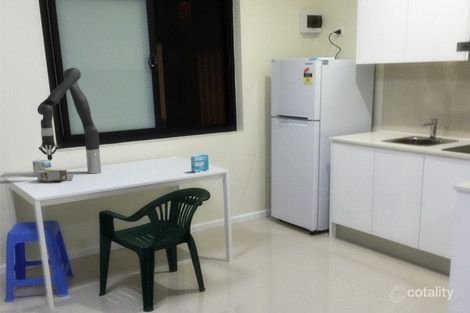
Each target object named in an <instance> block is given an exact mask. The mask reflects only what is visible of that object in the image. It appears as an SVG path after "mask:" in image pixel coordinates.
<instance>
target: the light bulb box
mask: <svg viewBox="0 0 470 313" xmlns="http://www.w3.org/2000/svg"><path fill="white" fill-rule="evenodd" d="M32 170H33V171H32V172H33V176H34V177H37V172H39V171H42V170H53V168H52V160H48V159H35V160H32Z"/></svg>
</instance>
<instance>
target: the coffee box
mask: <svg viewBox="0 0 470 313" xmlns="http://www.w3.org/2000/svg"><path fill="white" fill-rule="evenodd" d="M67 175H68V174H67V169H52V170H42V171H39V172H37V176H36V178H37V179H36V180H37V182H46V181H53V182H52V183H57V182H58V183H59V182H60V183H61V181H62V182H64V181H63V180H65V179H67Z"/></svg>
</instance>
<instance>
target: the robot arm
mask: <svg viewBox="0 0 470 313" xmlns="http://www.w3.org/2000/svg"><path fill="white" fill-rule="evenodd" d="M81 77H82V74H81V71H80V69H78V68H77V67H70V68H66V69H65V70H64V71H63V81H61V82H60V83H59V85H57V86H56V87H55V88H54V89H53V90H52V91H51V92H50V94H49V95H48V96H47V98H46V99H44V100H43V101H42V102H40V104H39V105H38V107H37V113H38V114H39V115H40V116H42V119H41V120H40V128H41V129H40V135H41V136H40V137H41V146H39V147H38V149H39V151H41V152H42V154H44V155H45V156H47V157H46V159H47V160H51V161H52V160H53V155H54V154H55V153H56V152H57V150H58V149H59V147H60V146H59V145H57V144H56V142H55V135H54V134H55V133H54V127H53V117H54V109H53V106H56V105H57V104H58V103H59V102H60V101H61V99H62V98H63V97H64V95H65V94H66V93H67V92H68V91H69V92H70V96H71V98H72V102H73V105H74V108H75V110H76V113H77V115H78V117H79V119H80V121H81V124H82V128H83V134H84V137H85V138H84V139H85V153H86V166H87V167H86V168H87V174H90V175H91V174H92V175H93V174H100V173H102V164H101V155H100V154H101V152H100V135H99V134H100V133H99V130H98V129H97V128H96V126H95V123H94V121H93V119H92V112H91V107H90V104H89V102H88V99H87V97H86V95H85V94H84V93H83V91H82V90H81V88H80V86H79V83H78V81H79V80H80V78H81Z"/></svg>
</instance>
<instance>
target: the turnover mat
mask: <svg viewBox="0 0 470 313" xmlns="http://www.w3.org/2000/svg"><path fill="white" fill-rule="evenodd" d="M73 178H74V174H67V179H65V180H63V181H61V182H72V180H73ZM61 182H60V183H61ZM45 183H46V184H47V183H48V184H49V183H54V182H53V181H45Z"/></svg>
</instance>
